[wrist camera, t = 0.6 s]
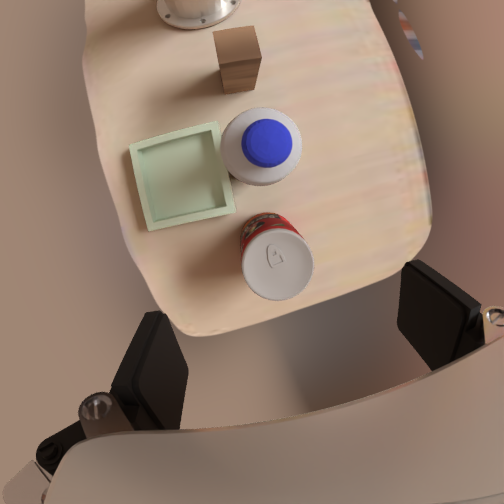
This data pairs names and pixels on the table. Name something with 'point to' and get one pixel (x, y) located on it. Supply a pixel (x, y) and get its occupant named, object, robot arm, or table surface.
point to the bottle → (261, 146)
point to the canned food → (275, 257)
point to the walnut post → (238, 58)
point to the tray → (182, 176)
